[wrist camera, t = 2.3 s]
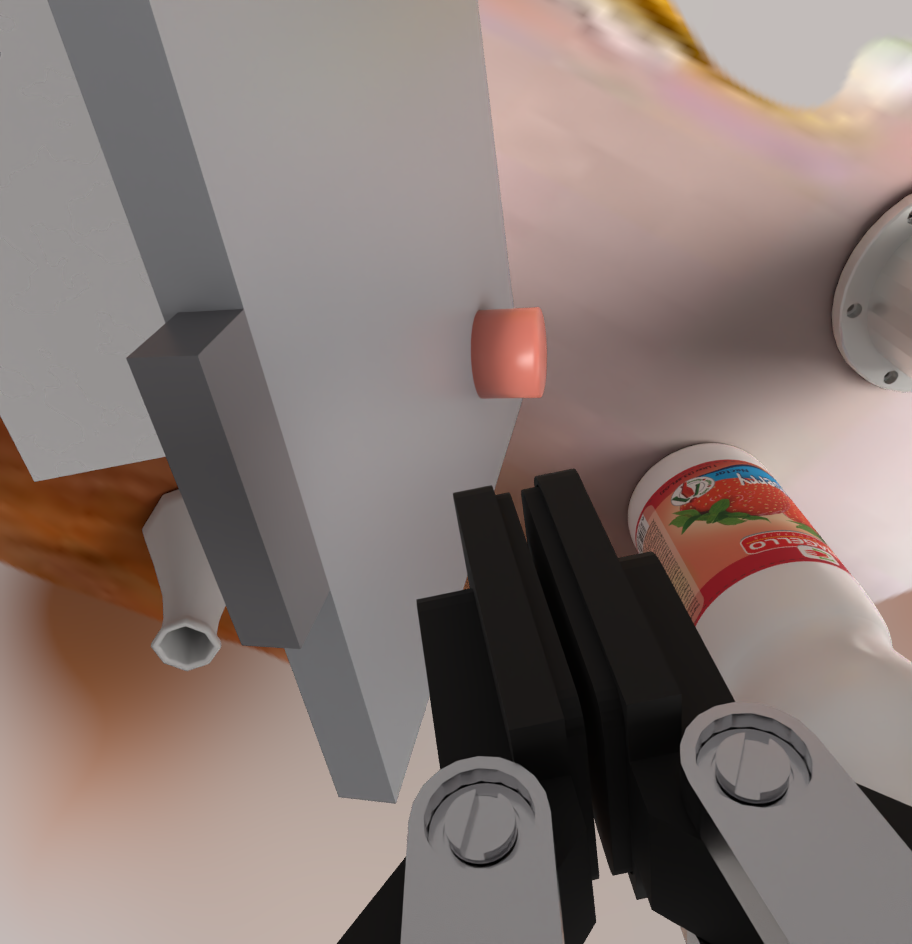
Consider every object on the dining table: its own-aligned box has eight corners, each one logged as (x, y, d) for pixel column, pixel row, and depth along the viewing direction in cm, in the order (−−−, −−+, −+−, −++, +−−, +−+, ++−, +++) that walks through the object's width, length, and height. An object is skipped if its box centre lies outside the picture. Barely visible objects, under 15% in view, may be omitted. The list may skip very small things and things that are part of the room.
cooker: (377, -227, 33) (393, -279, 25) (466, 348, 47) (496, 440, 38) (-136, -138, 33) (-297, -159, 24) (106, 417, 46) (56, 525, 38)
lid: (408, -177, 26) (521, -200, 25) (490, 395, 37) (570, 393, 36) (-144, -248, 9) (151, -330, 8) (315, 857, 20) (460, 876, 19)
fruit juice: (596, 534, 55) (792, 985, 32) (677, 416, 51) (972, 835, 27) (710, 574, 58) (965, 1011, 35) (795, 467, 54) (1150, 881, 31)
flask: (120, 525, 50) (77, 645, 42) (208, 457, 48) (183, 568, 40) (210, 594, 54) (187, 717, 45) (295, 533, 52) (289, 649, 44)
